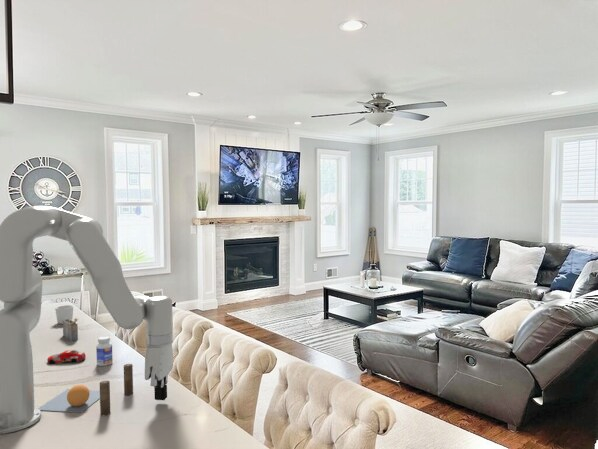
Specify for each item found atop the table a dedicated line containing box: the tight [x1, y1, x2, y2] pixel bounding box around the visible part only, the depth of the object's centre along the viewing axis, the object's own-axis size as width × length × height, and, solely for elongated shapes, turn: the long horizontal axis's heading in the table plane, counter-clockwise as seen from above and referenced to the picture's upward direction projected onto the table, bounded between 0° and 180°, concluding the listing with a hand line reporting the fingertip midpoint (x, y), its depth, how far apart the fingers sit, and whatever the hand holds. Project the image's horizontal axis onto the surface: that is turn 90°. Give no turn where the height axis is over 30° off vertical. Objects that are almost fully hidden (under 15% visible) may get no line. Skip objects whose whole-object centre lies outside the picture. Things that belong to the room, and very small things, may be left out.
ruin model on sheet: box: [62, 317, 79, 342], centre depth 194 cm, size 11×3×10 cm, turn 45°
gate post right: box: [123, 363, 134, 396], centre depth 136 cm, size 3×3×9 cm
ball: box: [67, 384, 90, 407], centre depth 128 cm, size 6×6×6 cm
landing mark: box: [37, 388, 100, 414], centre depth 132 cm, size 14×14×1 cm
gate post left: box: [99, 380, 111, 417], centre depth 123 cm, size 3×3×9 cm
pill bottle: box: [95, 336, 114, 367], centre depth 162 cm, size 5×5×10 cm
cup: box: [54, 304, 74, 325], centre depth 220 cm, size 11×8×8 cm
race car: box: [46, 349, 86, 365], centre depth 165 cm, size 13×5×4 cm, turn 96°
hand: (160, 398), depth 130 cm, fingers closed
